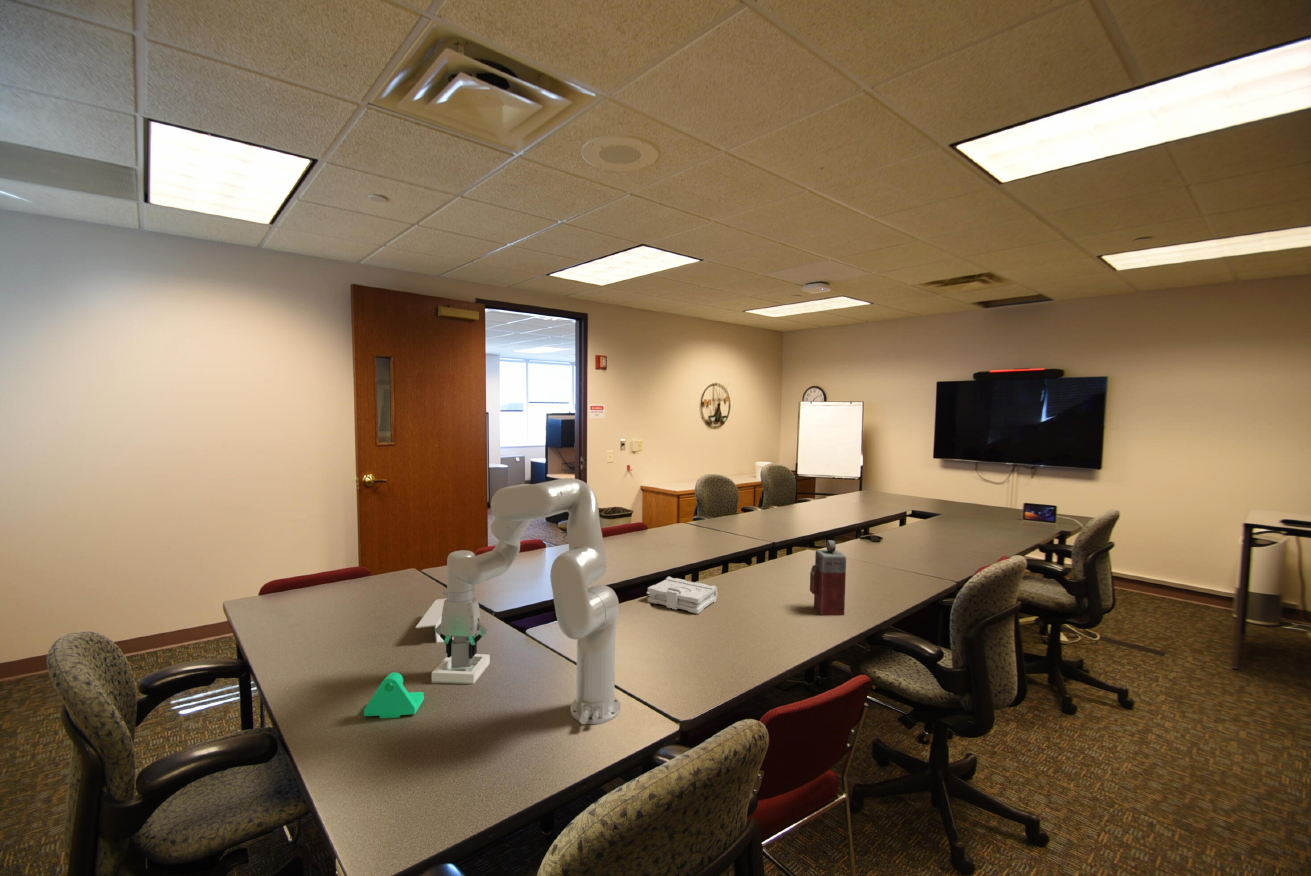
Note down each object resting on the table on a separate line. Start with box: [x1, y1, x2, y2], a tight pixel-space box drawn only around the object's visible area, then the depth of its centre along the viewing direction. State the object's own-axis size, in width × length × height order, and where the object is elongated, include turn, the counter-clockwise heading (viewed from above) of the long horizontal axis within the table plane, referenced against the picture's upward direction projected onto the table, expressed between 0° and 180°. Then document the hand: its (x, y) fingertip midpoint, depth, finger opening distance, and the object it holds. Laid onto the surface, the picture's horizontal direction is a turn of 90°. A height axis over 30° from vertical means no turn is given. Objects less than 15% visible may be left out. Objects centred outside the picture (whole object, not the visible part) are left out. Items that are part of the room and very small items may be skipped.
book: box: [646, 576, 718, 615], centre depth 216 cm, size 19×28×8 cm
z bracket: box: [415, 597, 453, 644], centre depth 186 cm, size 12×25×6 cm, turn 8°
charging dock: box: [431, 653, 491, 685], centre depth 154 cm, size 12×12×3 cm
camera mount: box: [363, 671, 425, 719], centre depth 135 cm, size 12×8×10 cm, turn 96°
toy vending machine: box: [809, 539, 847, 617], centre depth 205 cm, size 9×11×28 cm
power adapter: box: [451, 636, 472, 669], centre depth 154 cm, size 3×5×12 cm, turn 107°
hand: (461, 655), depth 154 cm, fingers closed on power adapter, 5 cm apart
